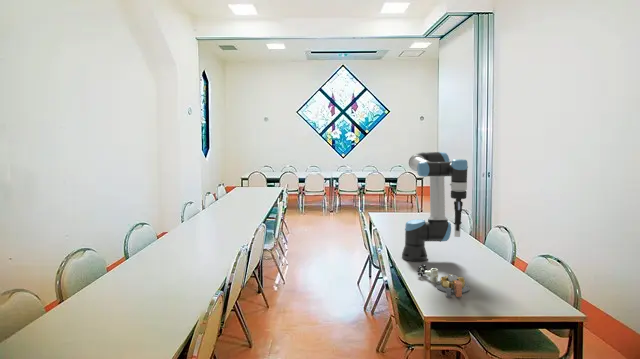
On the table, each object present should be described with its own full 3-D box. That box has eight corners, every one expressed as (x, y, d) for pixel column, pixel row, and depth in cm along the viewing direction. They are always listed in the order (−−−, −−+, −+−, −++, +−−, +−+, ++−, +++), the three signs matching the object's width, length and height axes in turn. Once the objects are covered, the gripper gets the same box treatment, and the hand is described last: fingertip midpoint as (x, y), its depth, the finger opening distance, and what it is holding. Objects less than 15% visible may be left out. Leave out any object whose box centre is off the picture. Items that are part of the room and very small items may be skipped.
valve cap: (435, 280, 221) (435, 269, 220) (467, 283, 217) (468, 271, 216) (435, 292, 206) (436, 280, 205) (470, 295, 202) (471, 282, 201)
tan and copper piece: (439, 280, 217) (439, 269, 217) (461, 281, 216) (461, 269, 215) (446, 296, 197) (447, 283, 196) (471, 297, 196) (471, 284, 195)
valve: (441, 281, 220) (425, 274, 230) (441, 269, 219) (426, 263, 229) (431, 284, 217) (416, 276, 227) (432, 271, 216) (416, 264, 226)
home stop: (446, 295, 201) (447, 287, 201) (451, 296, 201) (451, 288, 200) (446, 297, 200) (446, 288, 199) (450, 297, 199) (450, 289, 198)
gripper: (450, 188, 219) (448, 233, 222) (451, 192, 206) (450, 239, 209) (465, 188, 217) (464, 233, 220) (467, 192, 205) (466, 240, 207)
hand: (457, 236), depth 215 cm, fingers closed
